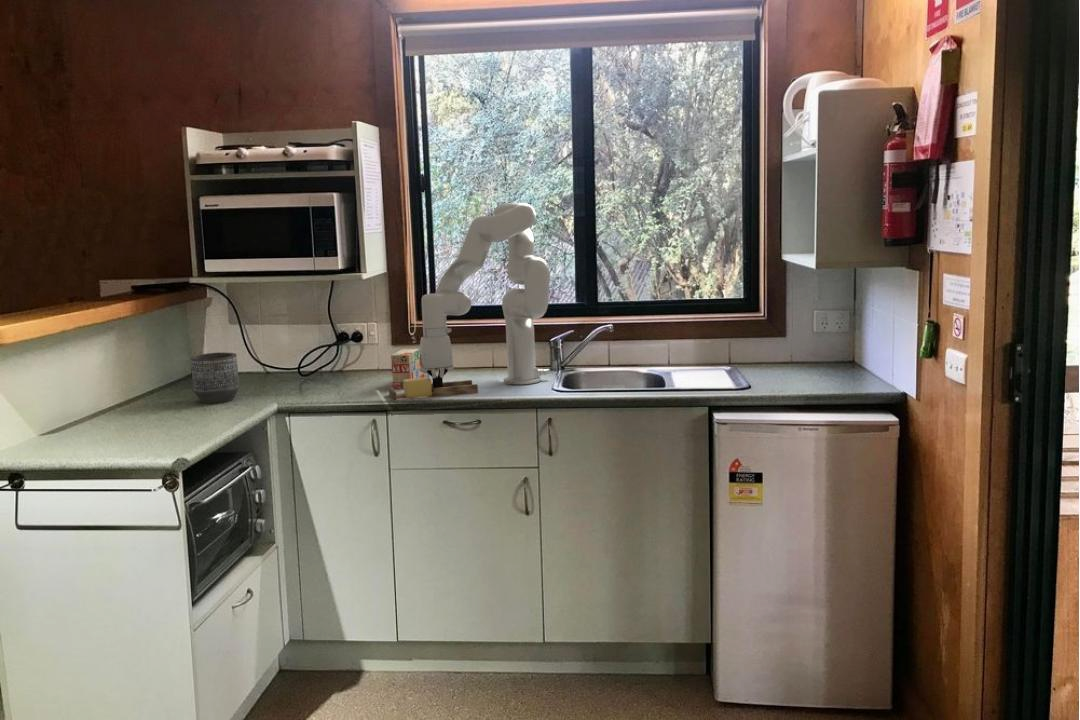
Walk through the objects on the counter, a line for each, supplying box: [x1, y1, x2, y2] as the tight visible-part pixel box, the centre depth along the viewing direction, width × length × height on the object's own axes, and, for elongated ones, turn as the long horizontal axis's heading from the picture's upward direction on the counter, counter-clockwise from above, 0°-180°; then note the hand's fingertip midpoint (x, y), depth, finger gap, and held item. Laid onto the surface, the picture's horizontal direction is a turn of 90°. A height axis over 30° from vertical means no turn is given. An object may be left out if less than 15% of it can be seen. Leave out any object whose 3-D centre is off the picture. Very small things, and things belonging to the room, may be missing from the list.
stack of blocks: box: [390, 348, 430, 389], centre depth 323 cm, size 21×6×12 cm, turn 170°
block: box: [403, 377, 432, 398], centre depth 300 cm, size 8×5×5 cm, turn 107°
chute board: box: [388, 379, 479, 401], centre depth 302 cm, size 27×10×3 cm, turn 107°
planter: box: [190, 351, 240, 405], centre depth 306 cm, size 14×14×15 cm
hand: (438, 389), depth 302 cm, fingers closed
